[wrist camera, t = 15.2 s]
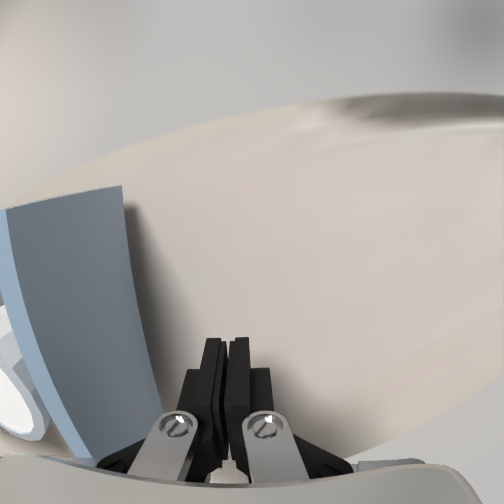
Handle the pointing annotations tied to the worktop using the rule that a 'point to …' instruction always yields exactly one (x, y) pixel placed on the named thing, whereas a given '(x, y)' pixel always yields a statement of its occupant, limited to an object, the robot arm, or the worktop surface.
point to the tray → (79, 318)
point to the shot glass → (18, 390)
